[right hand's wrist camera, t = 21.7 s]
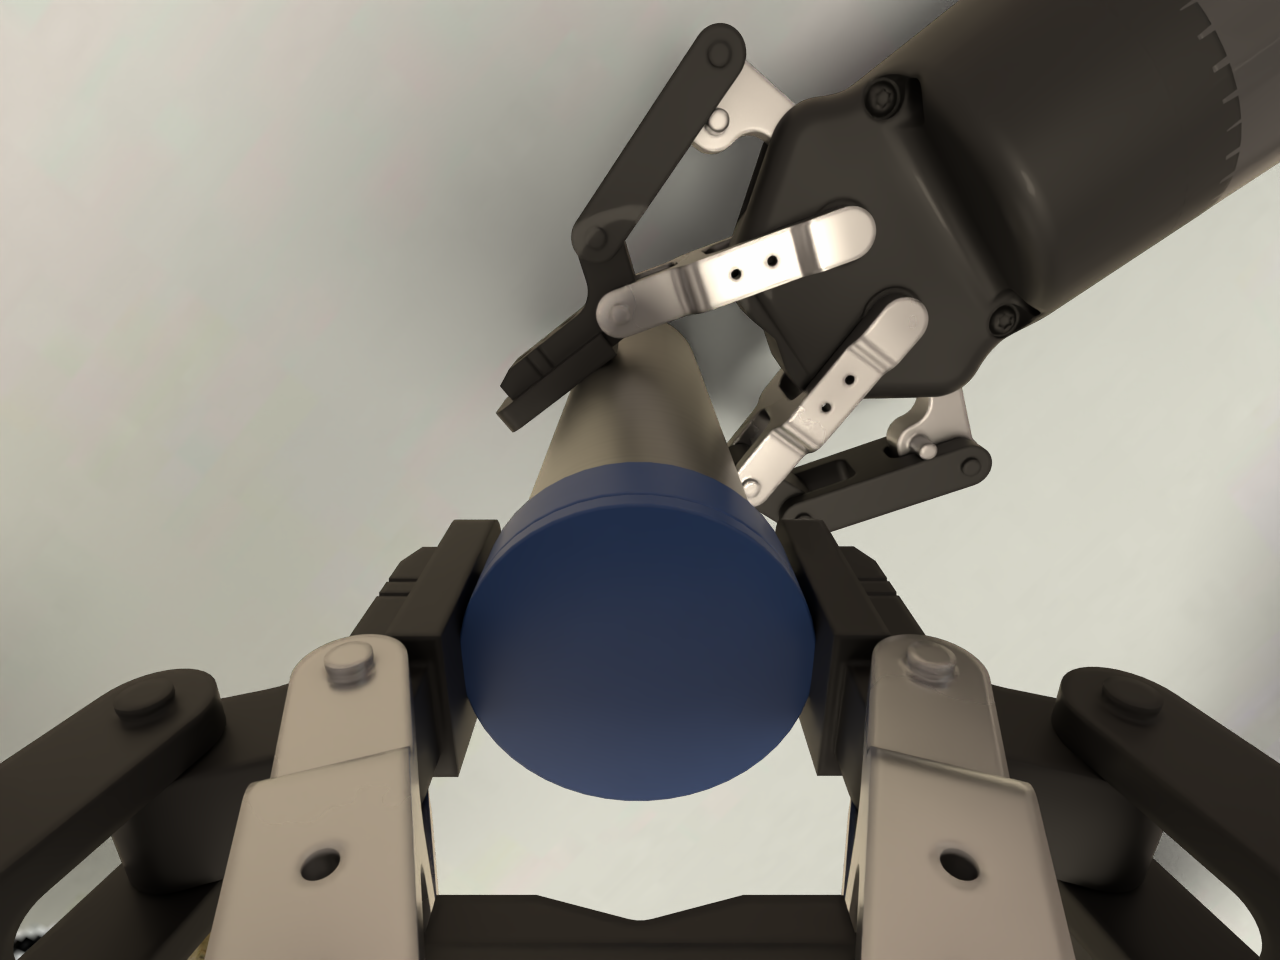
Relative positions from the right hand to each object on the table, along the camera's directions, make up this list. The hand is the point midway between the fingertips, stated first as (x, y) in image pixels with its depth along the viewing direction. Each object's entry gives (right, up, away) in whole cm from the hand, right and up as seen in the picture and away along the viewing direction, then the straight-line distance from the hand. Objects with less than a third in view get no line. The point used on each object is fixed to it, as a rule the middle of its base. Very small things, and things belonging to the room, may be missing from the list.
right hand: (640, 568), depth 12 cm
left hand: (-2, +2, +8) cm, 9 cm away
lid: (0, -1, -2) cm, 3 cm away
